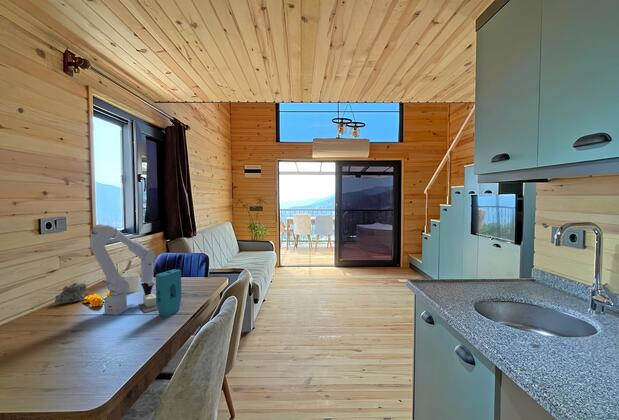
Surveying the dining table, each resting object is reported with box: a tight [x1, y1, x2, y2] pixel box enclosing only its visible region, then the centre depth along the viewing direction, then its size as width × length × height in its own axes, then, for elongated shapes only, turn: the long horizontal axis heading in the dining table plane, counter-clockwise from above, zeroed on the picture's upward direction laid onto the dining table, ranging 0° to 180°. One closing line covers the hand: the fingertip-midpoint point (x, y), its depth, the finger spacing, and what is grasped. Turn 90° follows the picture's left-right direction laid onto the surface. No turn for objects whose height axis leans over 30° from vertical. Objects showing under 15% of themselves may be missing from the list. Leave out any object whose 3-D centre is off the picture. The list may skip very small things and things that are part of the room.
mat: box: [138, 303, 158, 314], centre depth 152 cm, size 14×10×1 cm
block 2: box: [155, 268, 182, 317], centre depth 144 cm, size 12×5×20 cm, turn 160°
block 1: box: [142, 293, 157, 307], centre depth 155 cm, size 4×5×8 cm
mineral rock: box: [54, 282, 88, 305], centre depth 159 cm, size 13×11×10 cm
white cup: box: [123, 272, 141, 294], centre depth 178 cm, size 8×8×10 cm
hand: (147, 296), depth 159 cm, fingers closed
